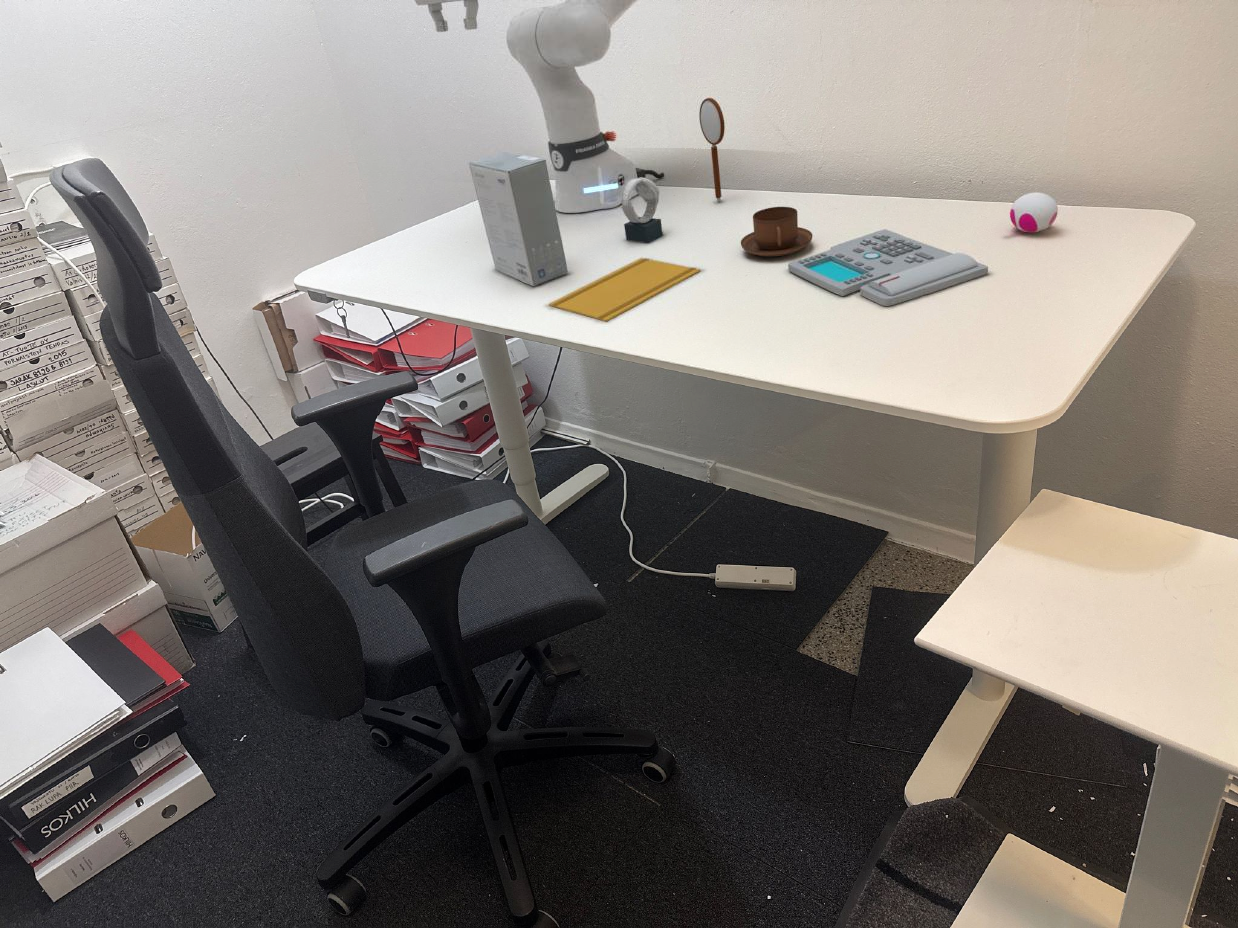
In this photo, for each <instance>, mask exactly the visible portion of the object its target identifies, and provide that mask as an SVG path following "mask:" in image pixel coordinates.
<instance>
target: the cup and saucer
mask: <svg viewBox="0 0 1238 928" xmlns="http://www.w3.org/2000/svg"><path fill="white" fill-rule="evenodd" d="M752 224H753V232H750V233H747V234H746V235H745V236H743V238H742V239H741V240H740V247H741V248H742V249H743V250H744V251H745V252H747V253H748V254H751V255H754V256H759V257H780V256H785V255H790V254H793V253H797V252H799V251H801V250H803V249H804V248H807V246H808V245H809V244H810V243H811V242H812V241H813V232H811V230H809V229H807V228H804V227H799V223H798V210H797V209H796V208H793V207H790V206H772V207H767V208H763V209H760V210H758V211H756V212H755V213H753V215H752Z"/></svg>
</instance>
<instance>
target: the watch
mask: <svg viewBox="0 0 1238 928" xmlns="http://www.w3.org/2000/svg"><path fill="white" fill-rule="evenodd" d="M633 189H634V191H636V192H637V196H639V197H641V198H642V200H643V202H644V203H646V207H645V210H644V213H643V214H642V216H638V214H637V212H636V210H635V208H634V206H633V205H632V202H631V201H632V200H631V199H632V198H631V194H632V191H633ZM659 195H660V189H659V187H658V185H657V184H656V183H655V182H653V181H652V180H650V179H649V178H638V179H631V180H629V181H628V182H627V183H626V185H625V186H624V188H623V191H622V197H621V202H622V203H621V209H622V211H623V214H624V215H625V217H626V218H627V220H628V222H625V223H624V224H623V226H624V234H625V239H626V241H628V242H629V241H630V242H635V243H636V242H637V243H645V244H650V243H651V242H653V241H655V240H657V239H659V238H661V237H662V236H663V235H664V233H663V226H662V219H661V218H654V216H655V213H656V212H657V208H658V204H659V201H660V200H659Z"/></svg>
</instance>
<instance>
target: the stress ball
mask: <svg viewBox="0 0 1238 928" xmlns="http://www.w3.org/2000/svg"><path fill="white" fill-rule="evenodd" d="M1011 202H1012V203H1013V204H1012V205H1011V207H1010V210H1009V218H1010V219H1009V220H1010V221H1011V223H1012V225H1013V226H1014V227H1015V228H1016V229H1018V230H1019V231H1018V232H1015V233H1012V234H1011V236H1014V235H1017V234H1020V233H1024V232H1025V233H1038V232H1041V231H1044V230H1046V229H1048V228H1049V227H1050V226H1051V225H1053V223H1054V222H1055V220H1056V219H1057V216H1058V214H1059V213H1058V212H1059V208H1058V204H1057V202H1056V201H1055V199H1054V198H1053V197H1052V196H1050V195H1048V194H1047V193H1043V192H1038V191H1037V192H1029V193H1026V194H1023V195H1021V196H1020V197H1018V198H1017V199H1016V200H1014V201H1011Z"/></svg>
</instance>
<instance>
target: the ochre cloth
mask: <svg viewBox="0 0 1238 928" xmlns="http://www.w3.org/2000/svg"><path fill="white" fill-rule="evenodd" d="M699 272H701V269H700V268H696V267H689V266H684V265H679V264H674V263H668V262H664V261H658V260H653V259H650V258H644V257H643V258H642V257H640V258H639V259H636V260H634V261H633V262H631V263H628V264H627V265H625V266H623V267H620V268H618V269H616V270H615V271H612V272H611V273H608V274H607V275H604V276H603V277H600V278H598V279H596V280H594V281H592V282H590V283H587V284H586V285H584V286H582V287H580V288H578V289H576V290H574V291H571V292H570V293H568V294H566V295H563V296H562V297H560V298H557V299H556V300H554V301H552V302H550V303H548V306H549V307H552V308H557V309H560V310H563V311H567V312H569V313H570V312H571V313H575V314H578V315H582V316H585V317H590V318H593V319H596V320H600V321H603V322H609V321H610V320H612V319H614V318H616V317H618V316H620V315H622V314H624V313H625V312H627V311H629V310H630V309H633V308H634V307H636V306H638V305H639V304H642V303H644V302H645V301H648V300H649V299H652V298H653V297H655V296H657V295H659V294H660V293H662V292H664V291H666V290H669V289H670V288H671V287H674V286H676V285H677V284H679V283H681V282H683V281H685V280H687V279H689V278H691V277H692V276H694V275H696V274H698V273H699Z"/></svg>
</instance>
